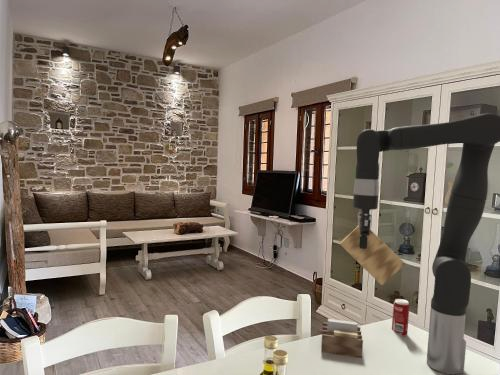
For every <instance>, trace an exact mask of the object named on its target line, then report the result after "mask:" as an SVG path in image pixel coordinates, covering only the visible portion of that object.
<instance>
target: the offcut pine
mask: <svg viewBox="0 0 500 375" xmlns="http://www.w3.org/2000/svg"><path fill="white" fill-rule="evenodd" d="M334 336H340V337H347V338H354V339H358V334H357V333H355V332H348V331H340V330H334Z"/></svg>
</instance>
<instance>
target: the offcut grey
mask: <svg viewBox="0 0 500 375" xmlns="http://www.w3.org/2000/svg"><path fill="white" fill-rule="evenodd" d="M327 323H328V326H327V331H333V332H334V330H340V331H348V332H355V333H357V327H358V322H355V321H349V320H347V321H346V320H340V319H332V318H327Z"/></svg>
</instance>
